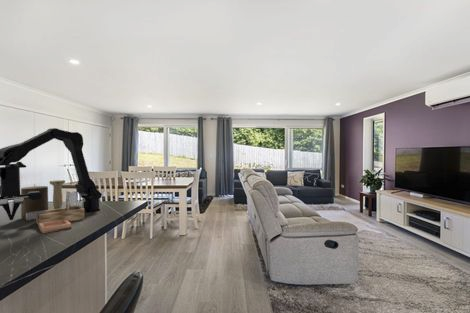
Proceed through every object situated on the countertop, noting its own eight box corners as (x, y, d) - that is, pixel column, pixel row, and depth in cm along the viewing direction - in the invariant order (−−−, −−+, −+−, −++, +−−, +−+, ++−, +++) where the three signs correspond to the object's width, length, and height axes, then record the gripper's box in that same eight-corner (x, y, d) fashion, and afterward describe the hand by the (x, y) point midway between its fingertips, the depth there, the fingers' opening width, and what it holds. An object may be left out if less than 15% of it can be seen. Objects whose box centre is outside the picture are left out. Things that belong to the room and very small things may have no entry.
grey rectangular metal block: (44, 216, 106) (44, 210, 106) (45, 217, 104) (45, 211, 104) (26, 218, 102) (26, 212, 102) (27, 220, 100) (26, 213, 100)
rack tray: (65, 223, 105) (65, 219, 105) (71, 228, 99) (71, 223, 99) (38, 228, 99) (38, 223, 99) (42, 233, 92) (42, 228, 92)
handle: (65, 210, 128) (65, 180, 127) (50, 212, 124) (49, 181, 123) (65, 208, 132) (64, 179, 131) (49, 210, 128) (49, 180, 127)
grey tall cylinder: (75, 211, 115) (75, 191, 115) (78, 213, 112) (77, 192, 112) (65, 213, 112) (64, 192, 112) (67, 214, 109) (67, 194, 109)
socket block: (79, 215, 118) (79, 205, 118) (84, 218, 112) (84, 208, 112) (36, 222, 106) (36, 211, 106) (39, 226, 101) (39, 215, 101)
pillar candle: (42, 219, 112) (42, 185, 111) (16, 220, 109) (16, 186, 109) (51, 214, 121) (51, 182, 121) (27, 215, 118) (27, 183, 118)
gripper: (37, 176, 110) (38, 212, 110) (-25, 180, 96) (-23, 220, 97) (41, 178, 102) (42, 216, 102) (-25, 183, 89) (-24, 227, 89)
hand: (11, 219), depth 98 cm, fingers closed
